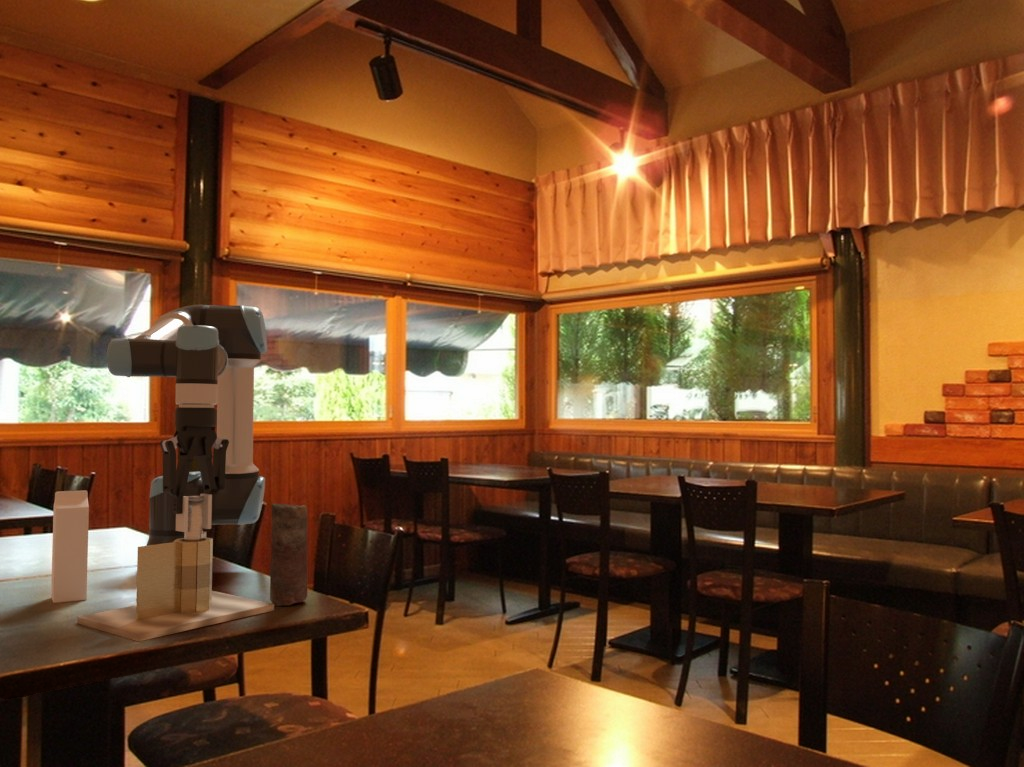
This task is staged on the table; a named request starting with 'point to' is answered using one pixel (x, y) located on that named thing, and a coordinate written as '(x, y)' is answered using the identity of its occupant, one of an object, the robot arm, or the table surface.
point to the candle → (288, 554)
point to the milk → (70, 546)
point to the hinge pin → (194, 519)
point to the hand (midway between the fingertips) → (193, 529)
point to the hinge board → (173, 618)
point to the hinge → (174, 578)
